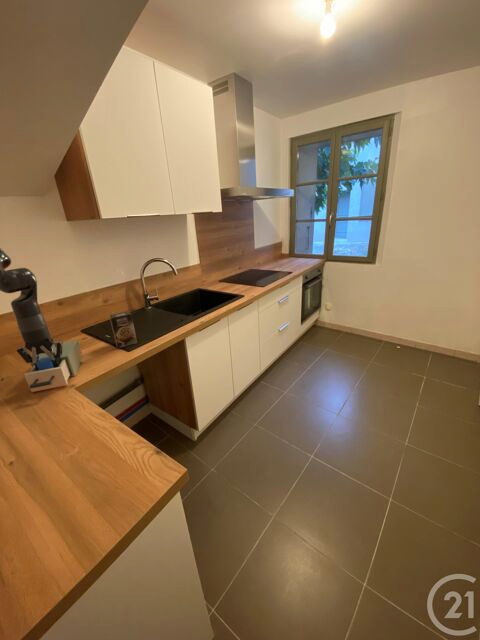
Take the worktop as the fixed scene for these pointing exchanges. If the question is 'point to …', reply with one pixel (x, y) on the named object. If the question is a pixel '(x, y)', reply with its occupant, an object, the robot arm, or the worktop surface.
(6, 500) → the worktop surface
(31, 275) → the robot arm
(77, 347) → the grey-green drawer cabinet
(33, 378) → the dispenser drawer
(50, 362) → the blue cube
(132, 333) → the coffee box
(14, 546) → the worktop surface
